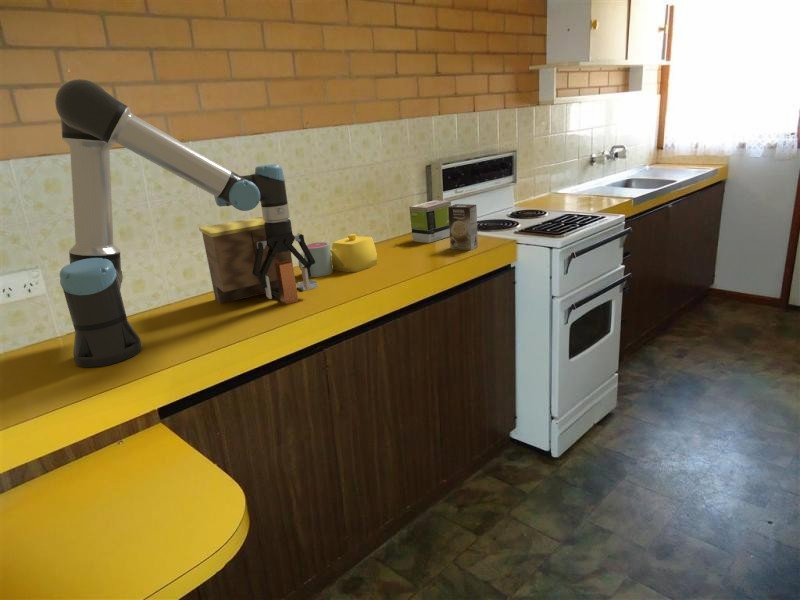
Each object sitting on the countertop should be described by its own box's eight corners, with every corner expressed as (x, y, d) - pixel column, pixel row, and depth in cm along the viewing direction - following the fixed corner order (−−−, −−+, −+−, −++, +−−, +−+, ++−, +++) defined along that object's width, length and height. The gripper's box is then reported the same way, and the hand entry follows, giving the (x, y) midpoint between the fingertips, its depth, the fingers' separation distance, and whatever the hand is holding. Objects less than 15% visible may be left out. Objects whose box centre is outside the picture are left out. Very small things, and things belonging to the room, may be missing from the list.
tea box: (436, 234, 246) (434, 199, 241) (454, 236, 239) (452, 200, 234) (411, 241, 237) (408, 205, 232) (428, 243, 229) (426, 206, 225)
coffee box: (449, 249, 217) (446, 206, 212) (457, 245, 222) (454, 203, 217) (471, 250, 212) (469, 207, 207) (479, 246, 217) (476, 204, 212)
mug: (319, 268, 206) (315, 241, 203) (338, 270, 201) (334, 242, 198) (291, 279, 196) (287, 250, 193) (311, 281, 191) (307, 252, 188)
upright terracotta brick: (285, 304, 168) (279, 265, 165) (269, 294, 180) (262, 257, 177) (298, 301, 170) (292, 262, 167) (281, 291, 182) (275, 255, 178)
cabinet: (225, 310, 168) (210, 233, 161) (213, 299, 181) (199, 227, 174) (299, 292, 179) (288, 220, 172) (282, 283, 191) (271, 215, 184)
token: (303, 292, 181) (302, 285, 180) (297, 288, 185) (296, 282, 184) (318, 288, 183) (317, 282, 183) (311, 285, 187) (310, 279, 187)
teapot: (347, 276, 192) (342, 242, 189) (321, 273, 200) (316, 240, 196) (385, 262, 207) (381, 230, 203) (359, 259, 214) (356, 228, 211)
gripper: (240, 228, 155) (253, 305, 161) (320, 214, 166) (329, 286, 173) (232, 225, 161) (246, 299, 168) (310, 212, 172) (319, 281, 179)
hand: (288, 293), depth 170 cm, fingers open, 11 cm apart
